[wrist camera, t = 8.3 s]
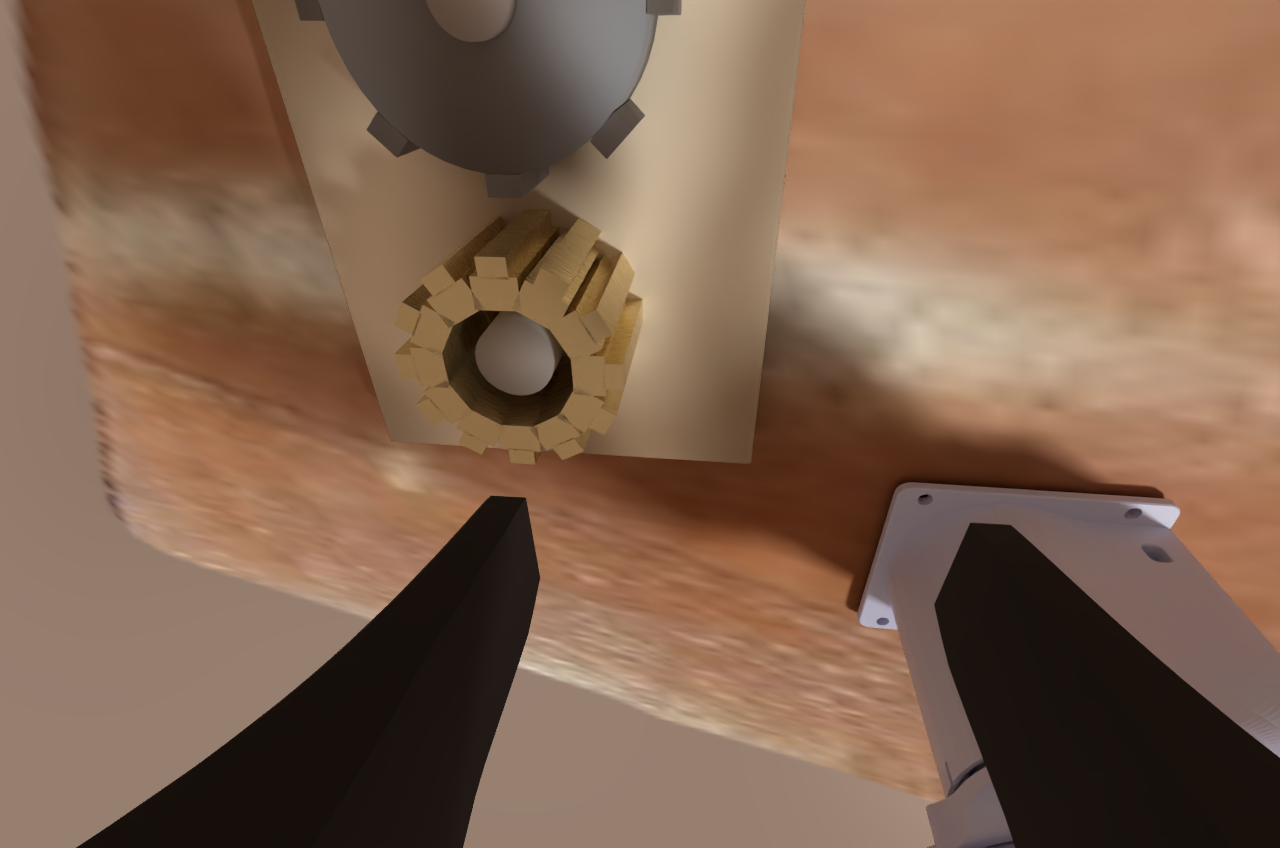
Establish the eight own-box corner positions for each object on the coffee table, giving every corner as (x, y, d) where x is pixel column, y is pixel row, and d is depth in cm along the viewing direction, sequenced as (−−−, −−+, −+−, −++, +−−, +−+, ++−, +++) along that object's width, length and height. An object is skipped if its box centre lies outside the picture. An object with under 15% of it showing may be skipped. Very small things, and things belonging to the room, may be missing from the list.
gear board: (828, -259, 12) (885, -415, 7) (749, 438, 21) (755, 537, 17) (226, -218, 13) (-5, -330, 9) (409, 418, 23) (338, 506, 18)
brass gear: (641, 210, 16) (619, 260, 12) (644, 393, 19) (626, 470, 16) (438, 207, 16) (365, 253, 13) (474, 384, 19) (422, 457, 16)
